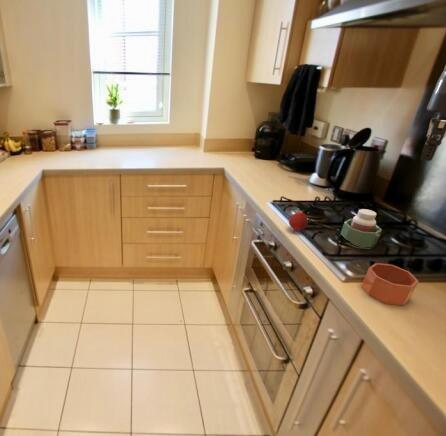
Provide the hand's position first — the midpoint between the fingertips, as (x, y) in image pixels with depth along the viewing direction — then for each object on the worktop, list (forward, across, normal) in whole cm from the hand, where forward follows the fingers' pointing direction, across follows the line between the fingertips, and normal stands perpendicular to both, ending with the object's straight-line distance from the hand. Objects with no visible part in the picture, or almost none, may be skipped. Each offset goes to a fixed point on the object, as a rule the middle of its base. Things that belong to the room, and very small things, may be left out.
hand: (426, 156), depth 84 cm
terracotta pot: (+32, -20, -2) cm, 38 cm away
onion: (+32, -1, +25) cm, 41 cm away
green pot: (+32, +5, +8) cm, 33 cm away
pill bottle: (+32, +5, +8) cm, 33 cm away
